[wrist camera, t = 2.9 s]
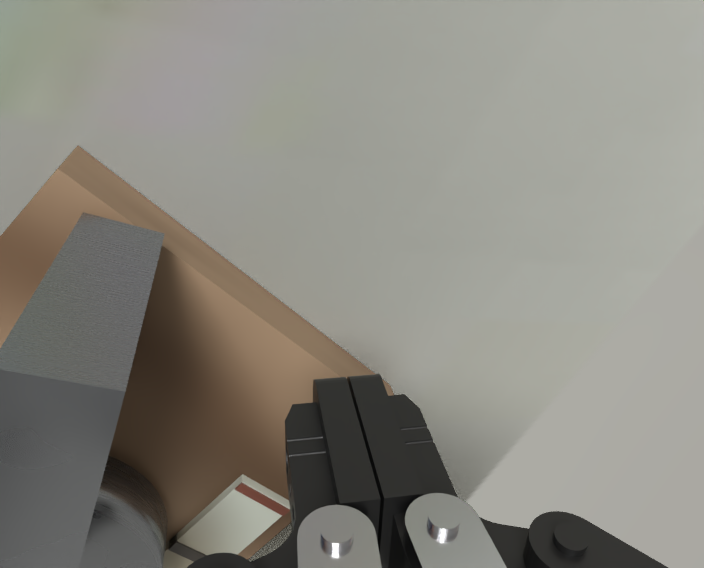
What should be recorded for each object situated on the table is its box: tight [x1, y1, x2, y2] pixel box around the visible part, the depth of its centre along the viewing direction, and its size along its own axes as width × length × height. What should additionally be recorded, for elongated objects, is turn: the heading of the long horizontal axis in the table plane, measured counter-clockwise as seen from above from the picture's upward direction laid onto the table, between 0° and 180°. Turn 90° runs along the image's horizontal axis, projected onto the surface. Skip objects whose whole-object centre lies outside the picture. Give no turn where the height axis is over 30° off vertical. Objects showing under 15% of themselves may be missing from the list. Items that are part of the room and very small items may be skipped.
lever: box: [0, 212, 168, 568], centre depth 14 cm, size 6×16×6 cm, turn 159°
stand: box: [0, 146, 394, 568], centre depth 19 cm, size 22×12×2 cm, turn 134°
